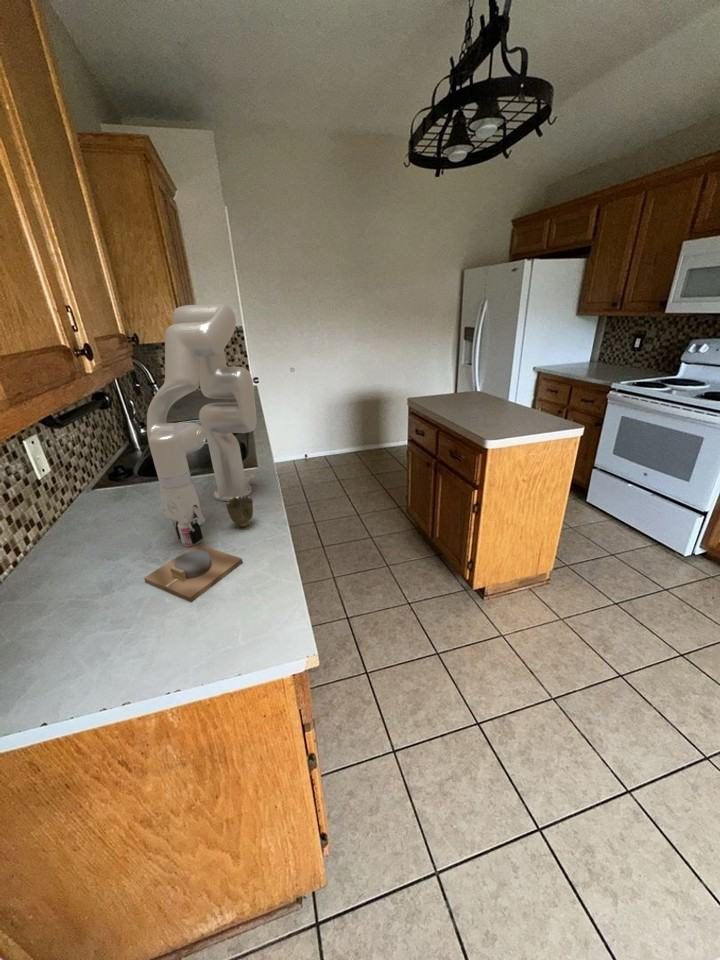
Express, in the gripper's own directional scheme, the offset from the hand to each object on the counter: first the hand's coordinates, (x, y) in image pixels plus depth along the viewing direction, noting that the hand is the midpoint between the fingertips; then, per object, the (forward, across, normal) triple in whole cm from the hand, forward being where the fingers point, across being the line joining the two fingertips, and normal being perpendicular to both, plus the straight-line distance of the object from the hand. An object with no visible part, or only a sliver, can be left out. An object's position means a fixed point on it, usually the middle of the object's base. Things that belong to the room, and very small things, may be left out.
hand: (190, 538), depth 109 cm
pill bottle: (+1, 0, 0) cm, 1 cm away
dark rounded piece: (+1, +7, +13) cm, 15 cm away
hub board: (+1, +12, -9) cm, 15 cm away
